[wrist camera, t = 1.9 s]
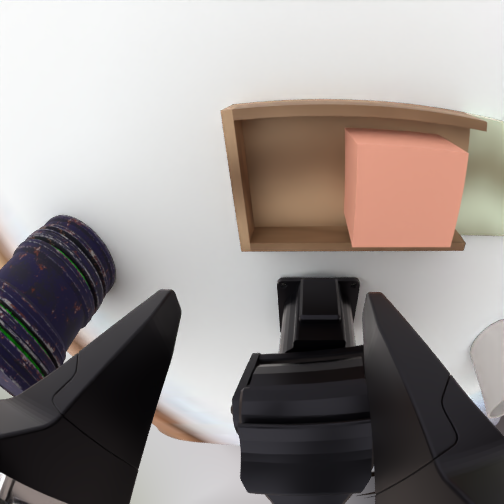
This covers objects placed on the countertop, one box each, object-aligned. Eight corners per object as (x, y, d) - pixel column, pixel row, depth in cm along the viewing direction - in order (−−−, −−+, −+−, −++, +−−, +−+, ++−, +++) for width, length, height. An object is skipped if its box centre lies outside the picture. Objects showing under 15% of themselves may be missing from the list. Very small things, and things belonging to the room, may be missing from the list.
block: (427, 214, 17) (450, 247, 14) (343, 212, 18) (352, 247, 15) (437, 134, 14) (468, 153, 11) (344, 127, 15) (357, 144, 12)
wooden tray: (517, 230, 17) (534, 250, 14) (249, 227, 21) (241, 251, 19) (537, 132, 12) (561, 144, 10) (232, 104, 16) (220, 110, 14)
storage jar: (129, 298, 28) (60, 424, 16) (65, 290, 30) (-1, 387, 17) (95, 210, 22) (-24, 339, 10) (31, 216, 24) (-63, 312, 12)
